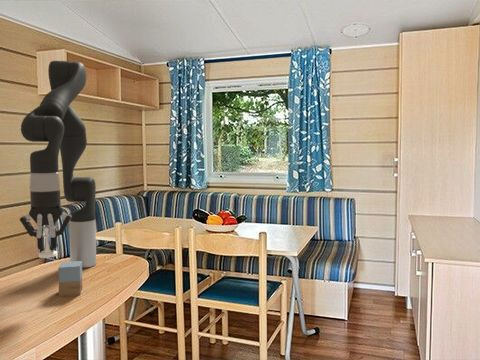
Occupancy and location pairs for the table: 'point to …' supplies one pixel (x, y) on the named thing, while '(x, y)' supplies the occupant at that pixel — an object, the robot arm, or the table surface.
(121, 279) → the table surface
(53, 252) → the chess piece
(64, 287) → the walnut block
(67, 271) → the slate-blue block
